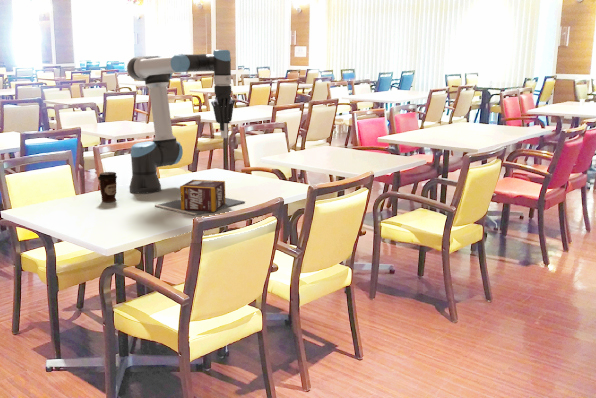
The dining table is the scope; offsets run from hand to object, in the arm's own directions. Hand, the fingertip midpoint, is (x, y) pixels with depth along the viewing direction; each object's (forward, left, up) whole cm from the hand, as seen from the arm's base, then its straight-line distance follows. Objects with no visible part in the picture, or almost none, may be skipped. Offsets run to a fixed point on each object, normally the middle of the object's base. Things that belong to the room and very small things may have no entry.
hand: (224, 137), depth 293 cm
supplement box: (+2, -12, -23) cm, 26 cm away
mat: (0, -16, -28) cm, 33 cm away
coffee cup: (-38, -37, -29) cm, 60 cm away
